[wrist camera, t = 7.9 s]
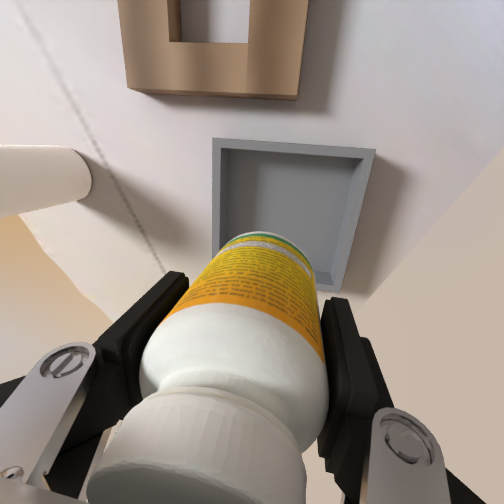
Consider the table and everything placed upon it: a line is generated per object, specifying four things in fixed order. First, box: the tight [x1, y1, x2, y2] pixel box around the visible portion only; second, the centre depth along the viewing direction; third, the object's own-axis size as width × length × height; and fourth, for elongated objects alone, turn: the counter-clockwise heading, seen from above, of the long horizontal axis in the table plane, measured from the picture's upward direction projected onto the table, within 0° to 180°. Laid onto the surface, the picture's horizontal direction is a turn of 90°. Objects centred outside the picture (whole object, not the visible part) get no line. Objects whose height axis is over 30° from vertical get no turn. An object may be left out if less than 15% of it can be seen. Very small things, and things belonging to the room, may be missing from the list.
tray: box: [212, 138, 376, 293], centre depth 26 cm, size 14×14×4 cm
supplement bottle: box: [86, 231, 329, 504], centre depth 9 cm, size 5×5×10 cm
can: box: [0, 145, 92, 218], centre depth 25 cm, size 6×6×12 cm
